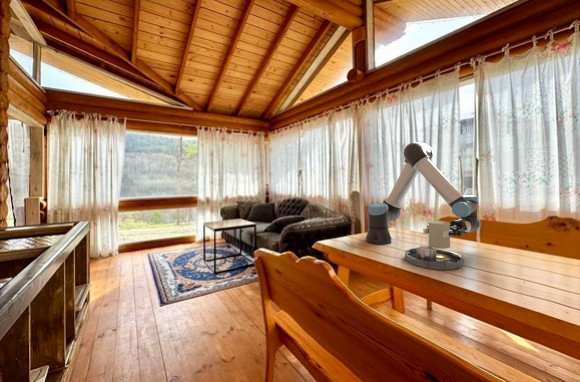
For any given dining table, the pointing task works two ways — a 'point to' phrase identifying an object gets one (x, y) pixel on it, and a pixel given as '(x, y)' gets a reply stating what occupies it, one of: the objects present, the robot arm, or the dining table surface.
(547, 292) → the dining table surface
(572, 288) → the dining table surface
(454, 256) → the carrier plate
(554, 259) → the dining table surface
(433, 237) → the can
